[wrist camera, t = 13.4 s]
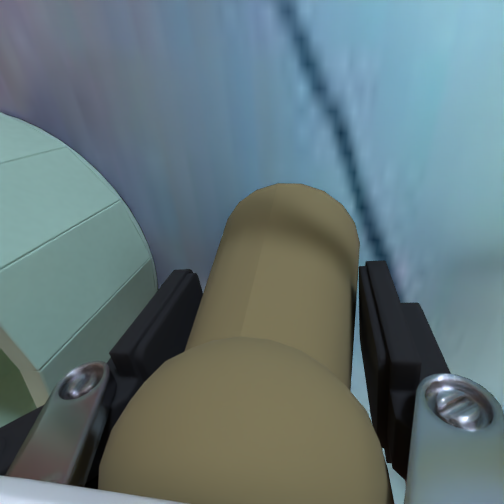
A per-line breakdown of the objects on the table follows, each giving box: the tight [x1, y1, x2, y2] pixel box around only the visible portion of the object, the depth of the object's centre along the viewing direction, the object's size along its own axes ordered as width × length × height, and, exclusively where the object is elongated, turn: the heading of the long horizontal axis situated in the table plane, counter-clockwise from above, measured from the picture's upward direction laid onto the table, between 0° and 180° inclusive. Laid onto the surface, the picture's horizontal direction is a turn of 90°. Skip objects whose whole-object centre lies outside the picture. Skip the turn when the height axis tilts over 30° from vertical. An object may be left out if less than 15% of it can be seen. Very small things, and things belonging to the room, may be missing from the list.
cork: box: [98, 183, 394, 504], centre depth 9 cm, size 6×6×11 cm
